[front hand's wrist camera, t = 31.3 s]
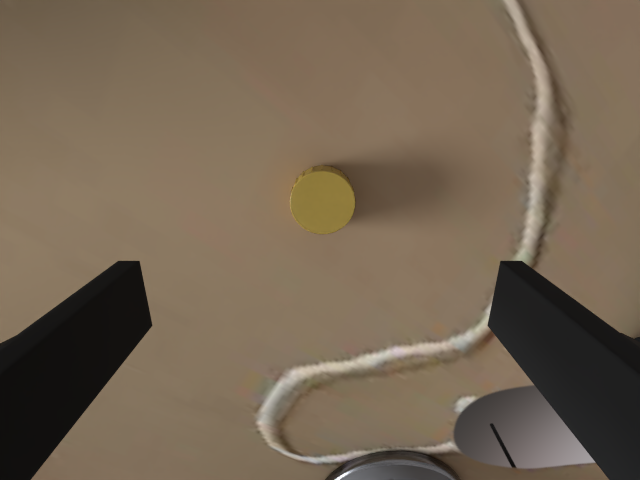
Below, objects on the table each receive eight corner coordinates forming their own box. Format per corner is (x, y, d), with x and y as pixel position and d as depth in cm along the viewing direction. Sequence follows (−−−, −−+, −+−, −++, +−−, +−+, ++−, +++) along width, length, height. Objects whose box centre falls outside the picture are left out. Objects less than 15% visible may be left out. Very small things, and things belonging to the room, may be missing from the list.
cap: (357, 219, 24) (360, 229, 22) (298, 229, 25) (296, 239, 23) (348, 159, 23) (350, 164, 21) (286, 171, 23) (282, 177, 21)
